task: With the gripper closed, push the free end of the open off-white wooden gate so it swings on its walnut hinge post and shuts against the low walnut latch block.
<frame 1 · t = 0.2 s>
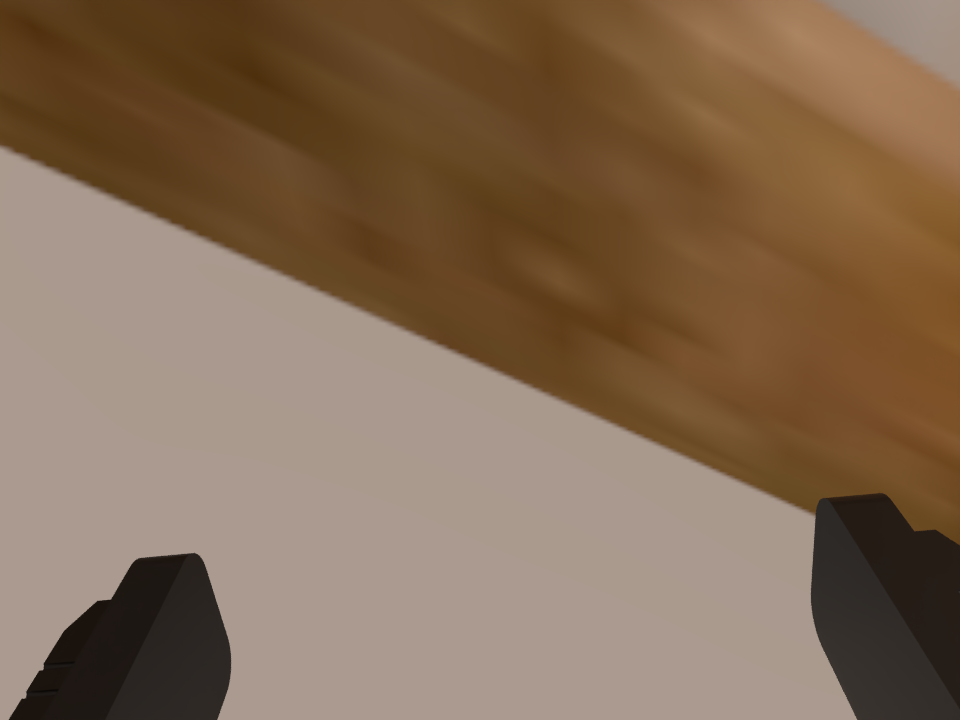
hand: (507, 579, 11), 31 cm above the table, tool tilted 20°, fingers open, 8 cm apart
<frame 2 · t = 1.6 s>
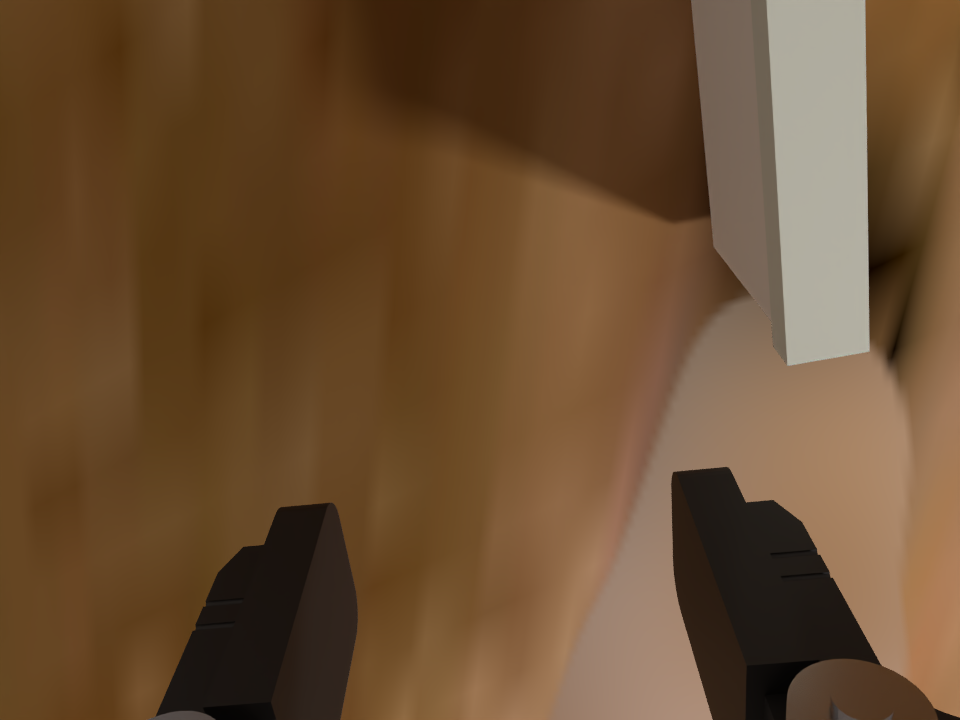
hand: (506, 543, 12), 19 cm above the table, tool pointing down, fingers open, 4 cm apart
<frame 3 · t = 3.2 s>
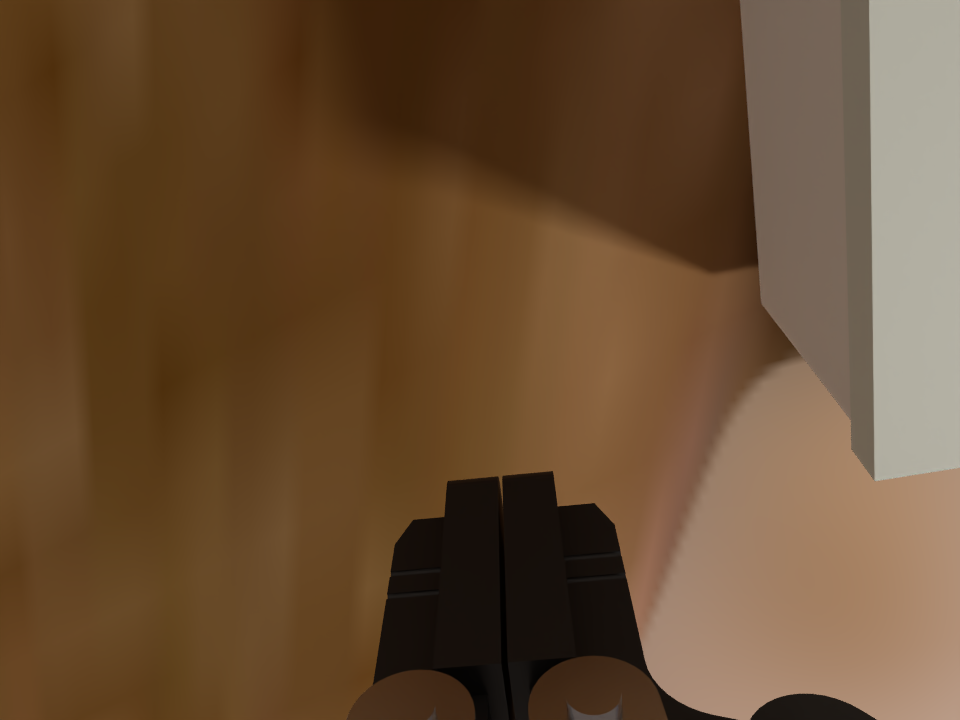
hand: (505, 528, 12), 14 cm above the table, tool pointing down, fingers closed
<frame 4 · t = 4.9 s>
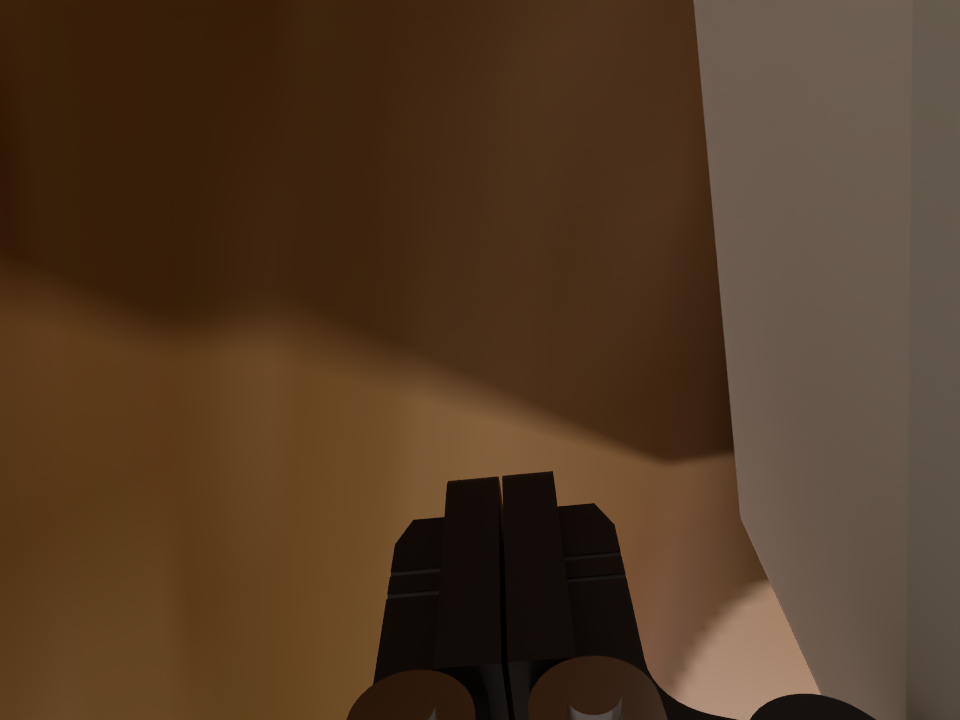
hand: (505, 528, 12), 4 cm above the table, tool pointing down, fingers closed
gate: (871, 48, 8), point 5 cm above the table, hinge at -55.0°, touching hand
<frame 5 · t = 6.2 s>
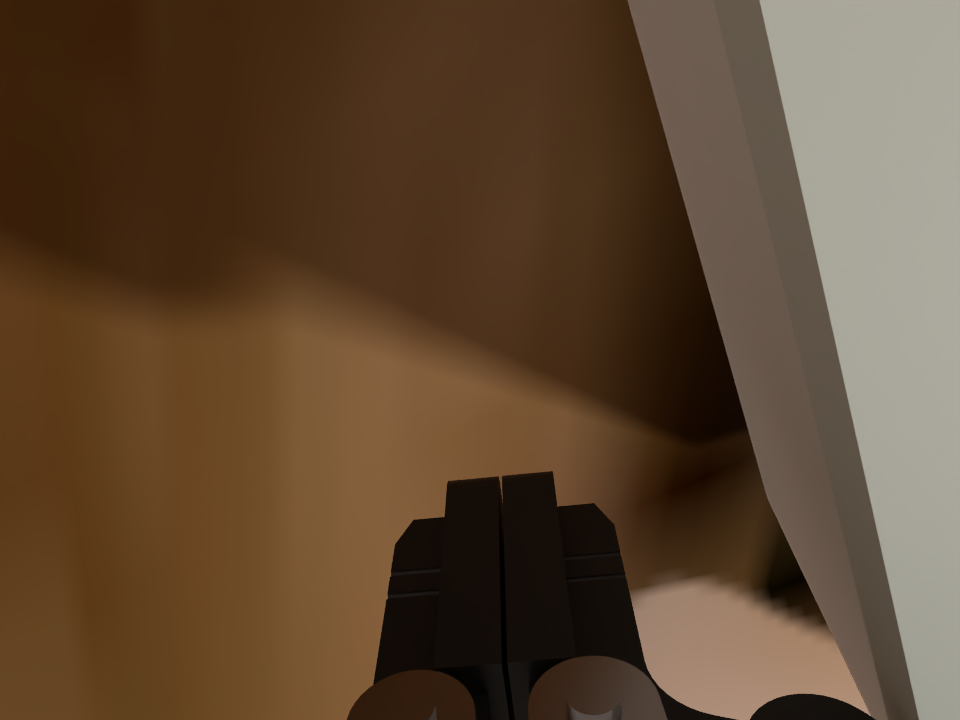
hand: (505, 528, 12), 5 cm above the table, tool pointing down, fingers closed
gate: (767, 49, 9), point 5 cm above the table, hinge at -45.8°, touching hand
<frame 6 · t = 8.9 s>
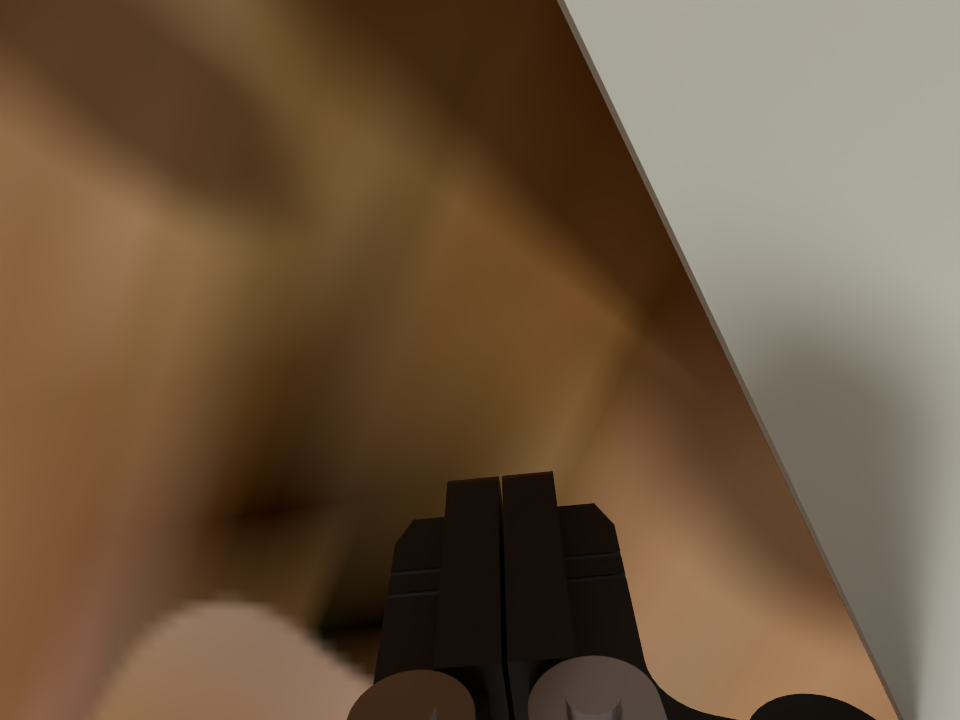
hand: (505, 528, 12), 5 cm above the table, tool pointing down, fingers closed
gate: (662, 6, 9), point 5 cm above the table, hinge at -19.4°, touching hand
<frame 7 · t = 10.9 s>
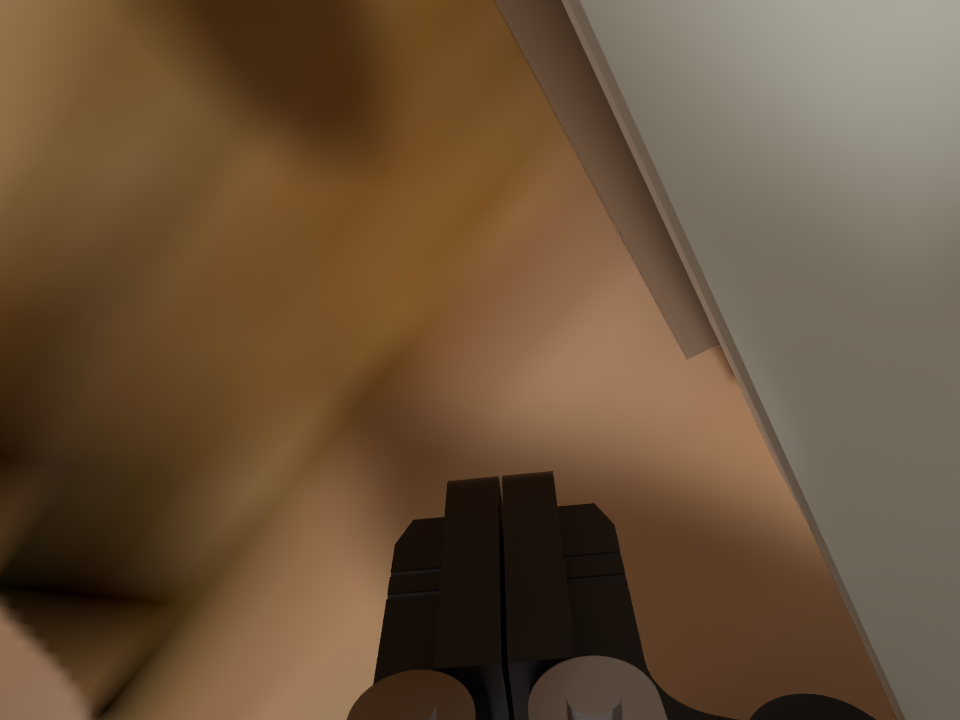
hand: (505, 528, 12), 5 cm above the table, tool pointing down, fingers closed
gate: (665, 0, 9), point 5 cm above the table, hinge at -2.0°, touching hand
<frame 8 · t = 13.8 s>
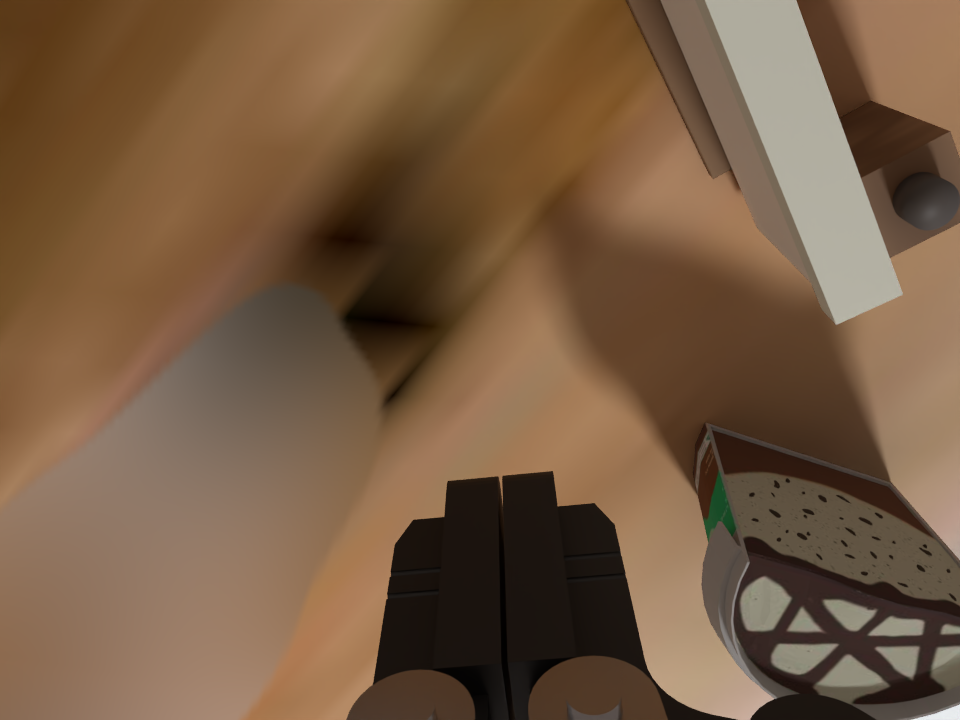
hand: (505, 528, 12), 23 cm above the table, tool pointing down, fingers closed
latch post: (847, 156, 33), on the table
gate: (716, 9, 26), point 5 cm above the table, hinge at -1.8°
food container: (766, 504, 40), on the table
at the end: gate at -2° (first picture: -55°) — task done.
